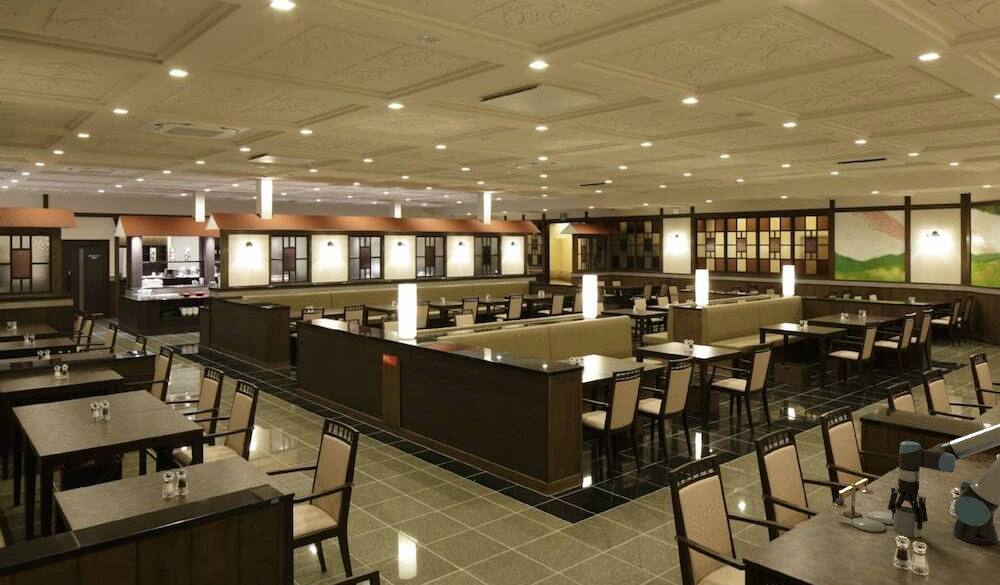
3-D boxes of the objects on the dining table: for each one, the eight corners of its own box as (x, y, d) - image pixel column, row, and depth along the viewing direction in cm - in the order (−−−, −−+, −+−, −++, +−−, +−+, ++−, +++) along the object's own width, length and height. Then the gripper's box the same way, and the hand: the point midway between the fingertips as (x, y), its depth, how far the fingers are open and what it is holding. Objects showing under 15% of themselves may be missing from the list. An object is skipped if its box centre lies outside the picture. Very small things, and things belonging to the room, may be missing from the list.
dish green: (892, 529, 288) (892, 527, 288) (870, 534, 283) (870, 531, 283) (865, 518, 300) (865, 516, 300) (844, 523, 295) (844, 520, 295)
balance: (864, 510, 310) (865, 476, 309) (875, 514, 305) (876, 479, 304) (829, 517, 301) (830, 481, 300) (839, 521, 296) (841, 485, 295)
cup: (921, 538, 280) (922, 514, 279) (899, 536, 281) (900, 512, 281) (913, 530, 288) (914, 506, 287) (892, 528, 290) (893, 505, 289)
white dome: (908, 522, 296) (908, 519, 296) (887, 526, 291) (887, 524, 291) (881, 512, 308) (881, 509, 308) (861, 516, 303) (861, 513, 303)
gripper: (940, 486, 275) (937, 540, 276) (891, 470, 295) (889, 521, 296) (927, 488, 272) (925, 543, 273) (879, 472, 292) (877, 524, 293)
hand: (906, 532), depth 285 cm, fingers open, 9 cm apart
